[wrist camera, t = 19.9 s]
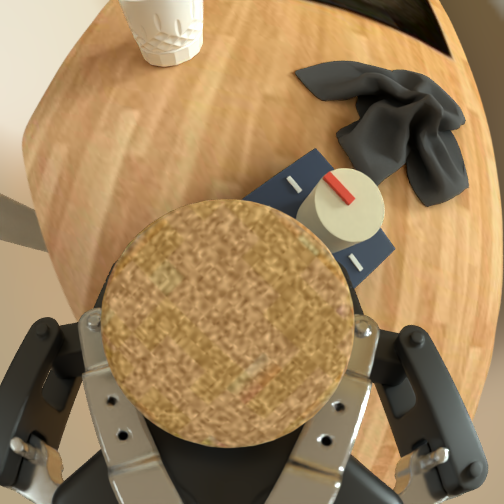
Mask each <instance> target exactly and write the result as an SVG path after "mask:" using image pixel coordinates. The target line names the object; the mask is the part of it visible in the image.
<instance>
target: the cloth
mask: <svg viewBox="0 0 504 504" xmlns="http://www.w3.org/2000/svg"><path fill="white" fill-rule="evenodd" d="M295 74H296V75H297V77H298V78H299V79H300V80H301V81H302V83H303V84H304V85H305V86H306V87H307V88H308V89H309V90H310V91H311V92H312V93H313V94H314V95H315V96H316V97H318V98H319V99H321V100H323V101H326V100H347V99H350V98H353V97H356V96H358V100H357V103H356V108H357V111H358V113H359V116H360V119H359V121H356V122H353V123H352V124H350V125H348V126H346V127H344V128H341V129H340V130H339V131H338V132H337V133H336V137H337V138H338V141H339V143H340V145H341V146H342V147H343V149H344V150H345V152H346V153H347V155H348V157H349V159H350V160H351V162H352V164H353V166H354V168H355V169H356V170H357V171H359V172H361V173H363V174H365V175H366V176H368V177H369V178H370V179H371V180H372V181H373V182H374V183H375V184H376V186H377V187H378V185H379V184H380V183H381V182H382V181H383V180H384V179H385V178H387V177H388V176H390V175H391V174H393V173H394V172H396V171H397V170H398V169H399V168H400V167H402V166H403V165H404V164H405V162H406V165H407V175H408V179H409V182H410V184H411V186H412V188H413V190H414V191H415V193H416V194H417V196H418V197H419V198H420V200H421V201H422V202H423V203H424V205H425V206H427V207H429V206H431V205H436V204H440V203H443V202H446V201H448V200H450V199H452V198H454V197H455V196H456V195H459V194H460V193H461V192H462V191H463V190H464V189H466V188H468V187H469V183H468V177H467V172H466V168H465V165H464V161H463V158H462V154H461V151H460V148H459V146H458V143H457V141H456V139H455V137H454V135H453V134H452V132H451V131H450V130H457V129H458V128H460V125H463V124H465V121H466V120H465V117H464V115H463V113H462V111H461V109H460V107H459V106H458V105H457V103H456V102H455V101H454V100H453V99H452V98H451V97H450V96H449V95H448V94H447V93H446V92H445V91H444V90H443V89H442V88H441V87H439V86H438V85H437V84H436V83H435V82H434V81H433V80H431V79H430V78H428V77H427V76H425V75H423V74H420V73H416V72H412V71H407V70H393V71H392V72H391V70H387V69H383V68H379V67H376V66H371V65H367V64H363V63H359V62H354V61H333V62H326V63H322V64H318V65H315V66H311V67H307V68H304V69H300V70H297V71H296V72H295Z"/></svg>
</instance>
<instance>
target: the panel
mask: <svg viewBox="0 0 504 504" xmlns="http://www.w3.org/2000/svg"><path fill="white" fill-rule="evenodd" d="M332 170H334V169H333V167H332V166H331V165H330V164H329V163H328V162H327V160H326V159H325V158H324V157H323V156H322V155H321V154H320V152H319V151H318V150H317V149H316V148H315V149H313V150H312V151H310V152H309V153H307V154H306V155H304V156H303V157H301V158H300V159H298V160H297V161H295V162H294V163H293V164H291V165H290V166H288V167H287V168H285V169H284V170H282V171H281V172H279V173H278V174H277V175H275V176H274V177H272V178H271V179H269V180H268V181H267V182H265V183H264V184H262V185H261V186H260V187H258V188H257V189H255V190H254V191H253V192H251V193H250V194H248V195H247V196H246V197H244V198H243V199H241V200H244V201H252V202H255V203H259V204H263V205H266V206H269V207H272V208H274V209H277V210H279V211H281V212H283V213H285V214H287V215H289V216H290V217H292V218H294V219H296V216H297V212H298V210H299V208H300V206H301V204H302V203H303V202H304V200H305V199H306V198H307V197H308V195H309V194H310V193H311V191H312V190H313V189H314V187H315V186H316V185H317V184H318V182H319V181H320V180H321V178H322V177H323V176H324V175H326V174H327V173H328V172H329V171H332ZM394 250H395V248H394V246H393V245H392V243H391V242H390V240H389V239H388V238H387V236H386V235H385V233H384V232H383V231H382V229H381V228H379V230H378V231H377V233H376V234H375V235H373V236H372V237H371V238H369V239H367V240H365V241H363V242H360V243H358V244H355V245H353V246H350V247H348V248H345V249H343V250H340V251H338V252H335V253H331V254H332V255H333V257H334V258H335V260H336V261H339V262H340V263H341V264H342V265H343V266H344V267H345V268H346V270H347V272H348V275H349V277H350V280H351V282H352V285H353V288H355V287H356V286H358V285H359V284H360V283H361V282H362V281H363V280H364V279H365V278H366V277H367V276H368V275H369V274H370V273H371V272H372V271H373V270H374V269H376V268H377V267H378V266H379V265H380V264H381V263H382V262H383V261H384V260H385V259H386V258H387V257H388V256H389V255H390V254H391V253H392V252H393V251H394Z"/></svg>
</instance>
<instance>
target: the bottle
mask: <svg viewBox="0 0 504 504" xmlns="http://www.w3.org/2000/svg"><path fill="white" fill-rule="evenodd" d="M354 327H355V324H354V310H353V302H352V298H351V295H350V291H349V287H348V284H347V282H346V279H345V277H344V275H343V273H342V270H341V268H340V266H339V265H338V263H337V261H336V260H335V258H334V257H333V255H332V254H331V252H330V250H329V249H328V248H327V247H326V246H325V244H324V243H323V242H322V241H321V240H320V239H319V238H318V237H317V236H316V235H315V234H314V233H312V232H311V231H310V230H309V229H308V228H307V227H305V226H304V225H303V224H301V223H300V222H299V221H297V220H296V219H294V218H292V217H290V216H289V215H287V214H285V213H283V212H281V211H279V210H277V209H274V208H272V207H269V206H266V205H263V204H259V203H255V202H252V201H244V200H236V199H222V200H207V201H202V202H198V203H193V204H189V205H185V206H183V207H180V208H178V209H175V210H173V211H171V212H169V213H167V214H166V215H164V216H162V217H160V218H159V219H157V220H156V221H154V222H152V223H151V224H149V225H148V226H147V227H146V228H145V229H144V230H142V231H141V232H140V233H139V234H138V235H137V236H136V237H135V238H134V239H133V240H132V241H131V242H130V243H129V244H128V246H127V247H126V249H125V250H124V252H123V253H122V255H121V256H120V258H119V259H118V261H117V262H116V264H115V266H114V268H113V270H112V272H111V274H110V277H109V279H108V283H107V286H106V290H105V293H104V297H103V301H102V311H101V336H102V342H103V348H104V353H105V356H106V359H107V362H108V364H109V367H110V369H111V372H112V374H113V376H114V378H115V380H116V382H117V384H118V386H119V387H120V389H121V390H122V392H123V393H124V395H125V396H126V398H127V399H128V400H129V401H130V402H131V403H132V404H133V405H134V406H135V407H136V408H137V409H138V410H139V411H140V412H141V413H142V414H143V415H144V416H145V417H146V418H147V419H148V420H149V421H151V422H152V423H154V424H155V425H156V426H158V427H160V428H161V429H163V430H165V431H166V432H168V433H170V434H172V435H174V436H175V437H178V438H181V439H184V440H187V441H190V442H194V443H197V444H201V445H205V446H209V447H220V448H238V447H247V446H255V445H259V444H262V443H266V442H269V441H273V440H275V439H277V438H280V437H282V436H284V435H286V434H288V433H291V432H292V431H294V430H295V429H297V428H298V427H300V426H301V425H303V424H304V423H305V422H307V421H308V420H309V419H311V418H312V417H313V416H314V415H315V414H316V413H317V412H318V411H319V410H320V409H321V408H322V407H323V406H324V405H325V404H326V402H327V401H328V400H329V399H330V397H331V396H332V395H333V393H334V392H335V390H336V389H337V387H338V385H339V383H340V381H341V379H342V377H343V375H344V373H345V372H346V369H347V366H348V362H349V359H350V355H351V351H352V346H353V339H354Z"/></svg>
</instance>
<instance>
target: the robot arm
mask: <svg viewBox="0 0 504 504" xmlns="http://www.w3.org/2000/svg"><path fill="white" fill-rule="evenodd" d="M117 261H118V260H117ZM117 261H116V262H117ZM116 262H115V263H114V264H113V266H112V268H111V270H110V272H109V275H108V276H107V279H106V282H105V283H104V285H103V287H102V290H101V292H100V294H99V296H98V299H97V301H96V303H95V306H94V308H93V309H91V310H89V311H87V312H85V313H84V314H83V315H82V316H81V318H80V320H79V322H77V323H72V324H67V325H61V326H59V325H58V323H57V321H56V320H55V319H53V318H50V317H45V318H41V319H39V320H37V321H36V322H35V323H34V324H33V325H32V326H31V328H30V330H29V331H28V333H27V335H26V336H25V338H24V340H23V342H22V344H21V345H20V347H19V349H18V351H17V353H16V355H15V357H14V359H13V361H12V362H11V364H10V366H9V369H8V370H7V372H6V374H5V377H4V379H3V381H2V383H1V385H0V485H1V486H3V487H6V488H8V489H11V490H14V491H16V492H17V493H19V494H21V495H22V496H24V497H25V498H27V499H29V500H30V501H32V502H33V503H35V504H440V503H442V502H443V501H445V500H448V499H452V498H455V497H458V496H460V495H462V494H464V493H466V492H469V491H471V490H474V489H476V488H478V487H480V486H481V485H482V484H483V482H484V481H485V479H486V477H487V473H488V464H487V460H486V457H485V454H484V452H483V449H482V446H481V443H480V441H479V438H478V436H477V433H476V431H475V429H474V426H473V423H472V421H471V419H470V416H469V414H468V412H467V410H466V407H465V405H464V403H463V401H462V399H461V396H460V394H459V392H458V390H457V388H456V386H455V384H454V382H453V380H452V378H451V376H450V374H449V372H448V370H447V368H446V366H445V364H444V362H443V360H442V358H441V356H440V354H439V352H438V351H437V349H436V347H435V345H434V343H433V341H432V340H431V338H430V336H429V335H428V333H427V332H426V331H425V330H424V329H422V328H420V327H418V326H415V325H408V326H405V327H404V328H403V329H402V330H401V331H400V333H395V332H390V331H385V330H381V329H379V327H378V325H377V323H376V322H375V321H374V320H373V319H371V318H370V317H368V316H366V315H364V314H363V311H362V308H361V306H360V303H359V300H358V298H357V295H356V292H355V290H354V288H353V285H352V282H351V280H350V277H349V275H348V272H347V270H346V268H345V267H344V266H343V265H342V264H341V263H340V262H339V261H337V263H338V265H339V266H340V268H341V270H342V273H343V275H344V277H345V279H346V282H347V284H348V287H349V291H350V295H351V298H352V302H353V310H354V324H355V327H354V339H353V346H352V351H351V355H350V359H349V362H348V366H347V369H346V372H345V373H344V375H343V377H342V379H341V381H340V383H339V385H338V387H337V389H336V390H335V392H334V393H333V395H332V396H331V397H330V399H329V400H328V401H327V402H326V404H325V405H324V406H323V407H322V408H321V409H320V410H319V411H318V412H317V413H316V414H315V415H314V416H313V417H312V418H311V419H309V420H308V421H307V422H305V423H304V424H303V425H301V426H300V427H298V428H297V429H295V430H294V431H292V432H291V433H288V434H286V435H284V436H282V437H280V438H277V439H275V440H273V441H269V442H266V443H262V444H259V445H255V446H247V447H238V448H220V447H209V446H205V445H201V444H197V443H194V442H190V441H187V440H184V439H181V438H178V437H175V436H174V435H172V434H170V433H168V432H166V431H165V430H163V429H161V428H160V427H158V426H156V425H155V424H154V423H152V422H151V421H149V420H148V419H147V418H146V417H145V416H144V415H143V414H142V413H141V412H140V411H139V410H138V409H137V408H136V407H135V406H134V405H133V404H132V403H131V402H130V401H129V400H128V399H127V398H126V396H125V395H124V393H123V392H122V390H121V389H120V387H119V386H118V384H117V382H116V380H115V378H114V376H113V374H112V372H111V369H110V367H109V364H108V362H107V359H106V356H105V353H104V348H103V342H102V336H101V311H102V301H103V297H104V293H105V290H106V286H107V283H108V279H109V277H110V274H111V272H112V270H113V268H114V266H115V264H116ZM50 369H51V370H50ZM49 371H50V372H49ZM48 373H49V374H48ZM47 375H48V376H47ZM46 377H47V379H46ZM45 380H46V381H45ZM82 380H83V385H84V389H85V394H86V398H87V402H88V406H89V410H90V414H91V417H92V421H93V424H94V427H95V431H96V434H97V438H98V441H99V444H100V447H101V449H100V450H99V451H98V452H97V453H96V454H95V455H94V456H92V458H90V459H89V460H88V461H87V462H86V463H84V464H83V465H82V466H81V467H80V468H79V469H78V470H76V471H75V472H74V473H73V474H72V475H71V476H69V477H68V478H67V479H66V480H65V481H63V478H62V472H63V469H64V468H63V465H62V459H61V457H60V454H59V453H58V448H59V444H60V441H61V438H62V435H63V432H64V429H65V425H66V423H67V420H68V417H69V414H70V412H71V409H72V406H73V404H74V401H75V398H76V396H77V393H78V390H79V388H80V385H81V383H82ZM44 382H45V383H44ZM372 383H374V384H375V386H376V389H377V392H378V394H379V397H380V400H381V402H382V405H383V408H384V410H385V413H386V416H387V419H388V421H389V424H390V427H391V430H392V433H393V436H394V438H395V441H396V444H397V447H398V450H399V453H400V456H401V459H400V460H399V461H398V463H397V465H396V469H395V478H396V484H395V487H394V489H393V490H392V489H391V488H390V487H389V486H387V485H386V484H385V483H384V482H382V481H381V480H380V479H379V478H378V477H377V476H375V475H374V474H373V473H372V472H371V471H369V470H368V469H367V468H366V467H365V466H364V465H363V464H361V463H360V462H359V461H358V460H357V459H356V458H355V457H354V456H352V455H351V451H352V448H353V445H354V443H355V440H356V437H357V434H358V431H359V428H360V425H361V422H362V418H363V415H364V412H365V408H366V405H367V402H368V398H369V394H370V391H371V387H372ZM43 384H44V385H43ZM42 387H43V388H42Z"/></svg>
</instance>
